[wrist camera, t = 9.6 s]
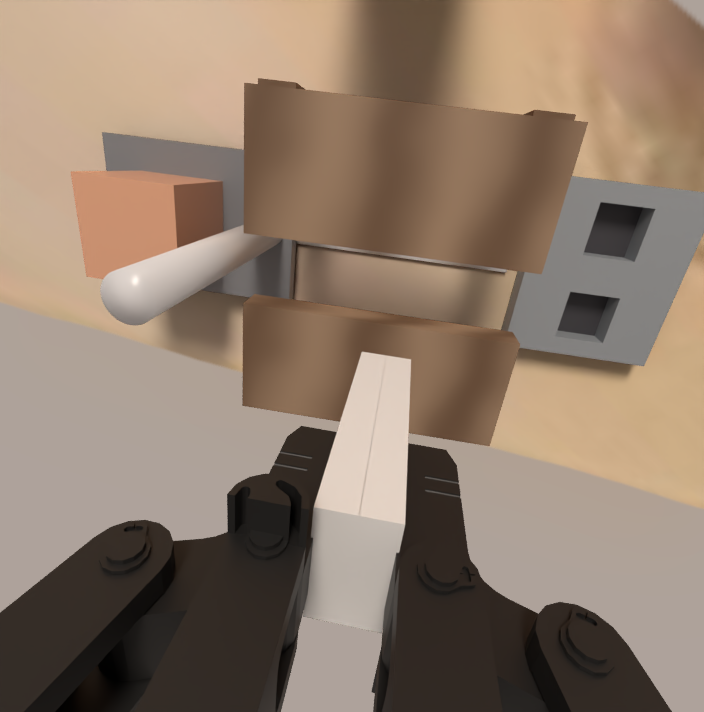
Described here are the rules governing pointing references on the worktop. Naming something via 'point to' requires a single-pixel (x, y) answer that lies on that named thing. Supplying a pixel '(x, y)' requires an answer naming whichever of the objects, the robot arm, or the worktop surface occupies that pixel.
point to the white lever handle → (173, 228)
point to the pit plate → (608, 271)
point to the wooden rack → (395, 240)
